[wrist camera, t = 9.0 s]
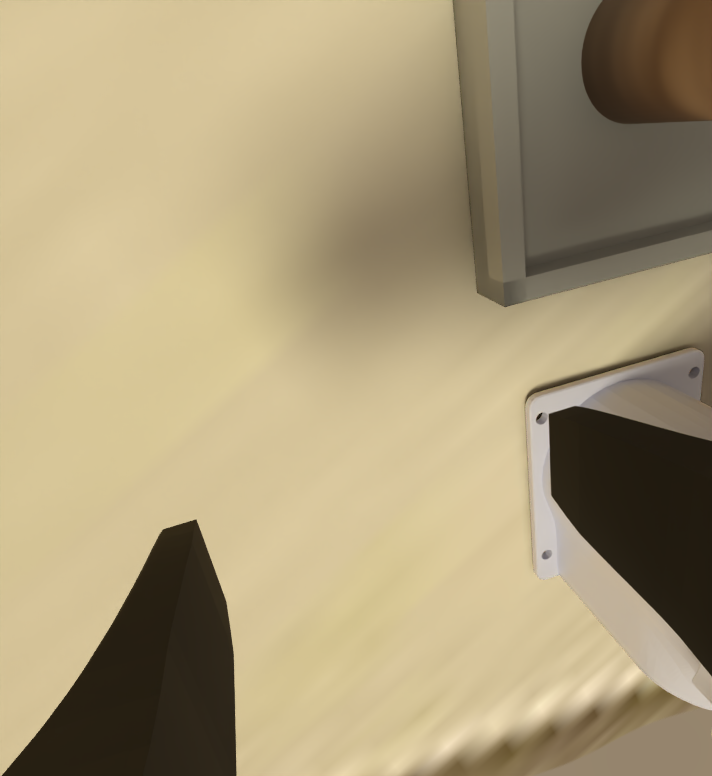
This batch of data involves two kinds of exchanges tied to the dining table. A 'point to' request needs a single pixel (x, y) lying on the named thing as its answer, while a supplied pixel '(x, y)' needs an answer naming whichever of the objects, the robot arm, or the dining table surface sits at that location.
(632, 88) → the walnut peg
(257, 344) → the dining table surface
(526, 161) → the slate tray
